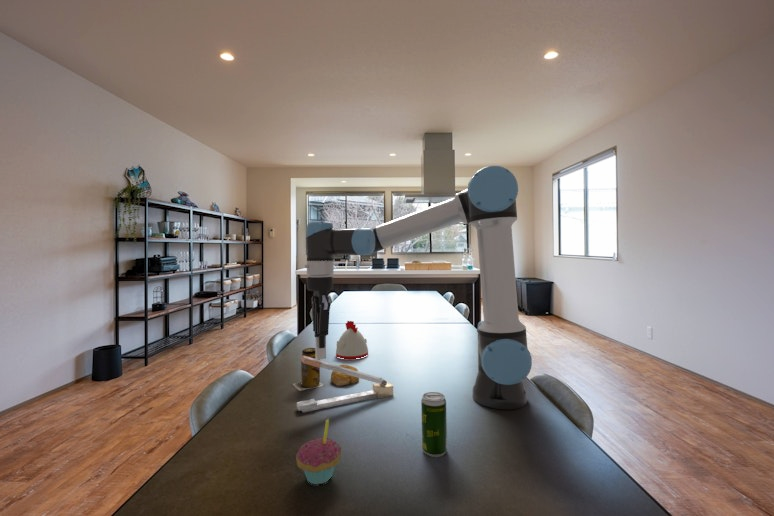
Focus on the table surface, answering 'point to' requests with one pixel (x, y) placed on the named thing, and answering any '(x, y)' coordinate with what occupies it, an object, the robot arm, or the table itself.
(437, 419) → the beer can
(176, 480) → the table surface
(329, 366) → the bar
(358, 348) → the kitchen timer
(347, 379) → the bagel
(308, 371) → the condiment
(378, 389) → the base
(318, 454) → the cupcake
